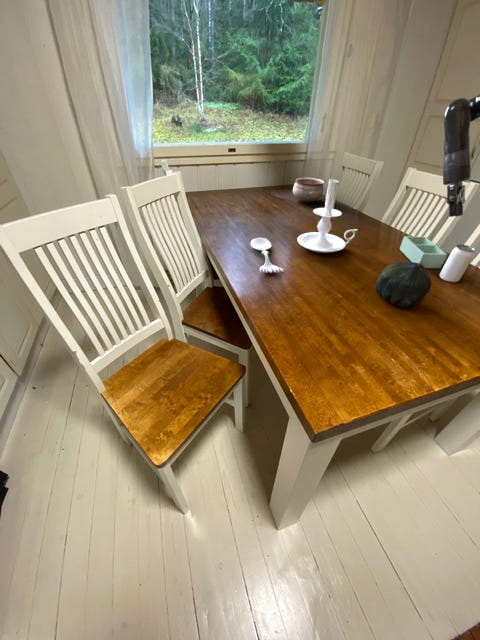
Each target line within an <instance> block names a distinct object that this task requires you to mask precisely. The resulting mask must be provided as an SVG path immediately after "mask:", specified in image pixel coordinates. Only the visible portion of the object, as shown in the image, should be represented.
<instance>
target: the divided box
mask: <svg viewBox="0 0 480 640" xmlns="http://www.w3.org/2000/svg"><path fill="white" fill-rule="evenodd" d="M399 250H400V252H401V253H403V255H404V256H406V258H407V259H408V260H409V262H415V263H420V264H421V265H423V266H424V268H425V269H441V268H442V266H444V265H443V264H445V262H446V260H447V257H448V253H446V252H445V251H444V250H443V249H441V248H440V247H439V246H437V245H436V244H435V243H434V242H433V241H431V240H430V239H429V238H428V237H427V236H407V235H406V236H405V235H404V236H403V239H402V242H401V244H400V246H399Z"/></svg>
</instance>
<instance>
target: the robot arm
mask: <svg viewBox="0 0 480 640" xmlns="http://www.w3.org/2000/svg"><path fill="white" fill-rule="evenodd" d="M479 118H480V93H479V94H478V95H476V96H474V97H472V98H470V99H468V98H466V97H459V98H456V99H454V100H452V101H451V102H450V103H449V104H448V105H447V107H446V108H445V111H444V113H443V125H444V142H443V161H442V184H443V185H444V186H446V189H447V190H446V204H447V205H448V216H449V217H450V218H452V217H462V216H463V215H464V204H465V203H466V185H463V182H466V181H468V180H470V179H471V174H472V173H471V164H472V161H471V160H472V159H471V158H472V157H471V155H472V154H471V135H470V128H471V123H472V122H473V121H475V120H477V119H479Z"/></svg>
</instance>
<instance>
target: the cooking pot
mask: <svg viewBox="0 0 480 640" xmlns="http://www.w3.org/2000/svg"><path fill="white" fill-rule="evenodd" d="M324 183H325V181H324V180H323V179H320V178H315V177H298V178H295V183H294V184H293V188H292V193H293V197H295V198H296V199H297V201H298V200H299V202H301V203H303V204H311V203H313V202H315V201H317V200H319V199H321V198H322V196H323V194H324Z"/></svg>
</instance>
